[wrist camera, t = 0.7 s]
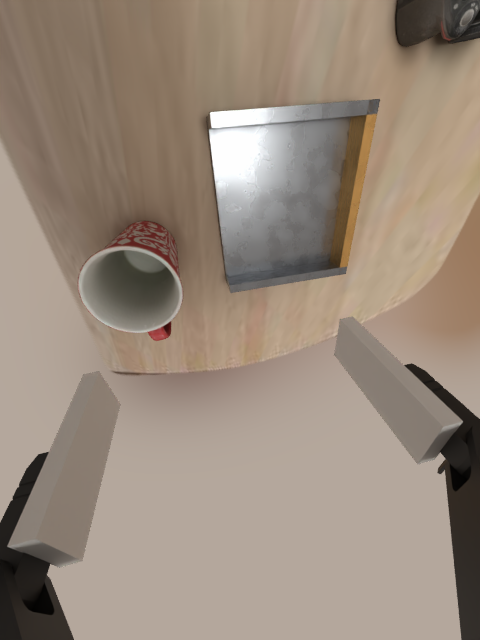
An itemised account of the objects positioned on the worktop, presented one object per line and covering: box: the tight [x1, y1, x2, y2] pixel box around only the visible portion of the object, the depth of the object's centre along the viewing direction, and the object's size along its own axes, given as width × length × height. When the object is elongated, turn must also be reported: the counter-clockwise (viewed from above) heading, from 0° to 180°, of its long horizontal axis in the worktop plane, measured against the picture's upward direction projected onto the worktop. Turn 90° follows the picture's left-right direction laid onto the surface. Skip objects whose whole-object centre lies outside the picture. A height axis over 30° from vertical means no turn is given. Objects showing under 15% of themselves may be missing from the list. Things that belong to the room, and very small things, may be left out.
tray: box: [207, 99, 380, 293], centre depth 32 cm, size 20×18×4 cm
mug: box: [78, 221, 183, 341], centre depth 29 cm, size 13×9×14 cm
